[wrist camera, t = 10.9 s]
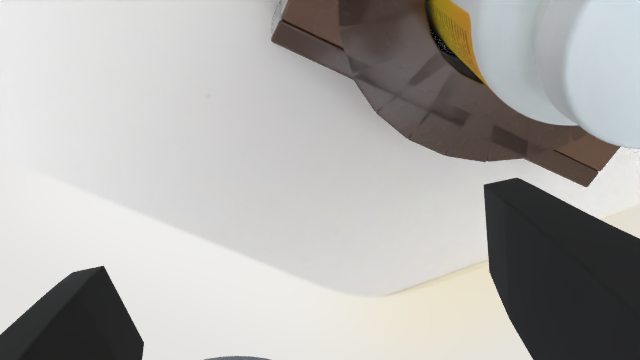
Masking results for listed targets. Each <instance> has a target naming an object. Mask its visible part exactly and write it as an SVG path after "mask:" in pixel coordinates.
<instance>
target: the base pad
mask: <svg viewBox="0 0 640 360" xmlns="http://www.w3.org/2000/svg"><path fill="white" fill-rule="evenodd" d="M271 41H272V42H273V43H275V44H277V45H279V46H282V47H284V48H286V49H288V50H290V51H292V52H295V53H297V54H299V55H301V56H303V57H305V58H308V59H310V60H312V61H314V62H316V63H318V64H321V65H323V66H325V67H327V68H329V69H331V70H333V71H336V72H338V73H340V74H342V75H344V76H346V77H349V78H351V79H353V80H354V81H355V82H356V84H357V85H358V87H359V88H360V90H361V91H362V93H363V94H364V96H365V97H366V99H367V100H368V102H369V103H370V105H371V106H372V108H373V109H374V111H375V112H376V113H377V114H378V115H379V116H381V117H382V118H383V119H384V120H385V121H386V122H388V123H389V124H390V125H391V126H392V127H394V128H395V129H396V130H397V131H398V132H400V133H401V134H402V135H403V136H404V137H406V138H408V139H409V140H411V141H413V142H415V143H417V144H420V145H422V146H424V147H427V148H429V149H431V150H433V151H436V152H438V153H440V154H442V155H446V156H450V157H456V158H463V159H469V160H476V161H482V162H486V161H499V160H510V159H521V158H524V159H526V160H528V161H530V162H532V163H534V164H537V165H539V166H541V167H543V168H545V169H547V170H549V171H552V172H554V173H556V174H558V175H560V176H562V177H565V178H567V179H569V180H571V181H573V182H575V183H578V184H580V185H582V186H584V187H587V186H589V184H590V183H591V182H592V181H593V179H594V178H595V177H596V176H597V174H598V171H601V170H602V169H603V167H604V166H605V165H606V164H607V163H608V161H609V160H610V159H611V158H612V156H613V155H614V154H615V153H616V151H617V150H618V149H619V148H620V146H617V145H613V144H610V143H607V142H605V141H603V140H600V139H598V138H596V137H595V136H593V135H591V134H590V133H588V132H587V131H585V130H584V129H583V128H581V127H580V126H579V125H573V126H570V125H555V124H548V123H544V122H540V121H537V120H534V119H531V118H529V117H527V116H525V115H523V114H521V113H519V112H517V111H516V110H514V109H513V108H511V107H510V106H508V105H507V104H506V103H504V102H503V101H502V100H501V99H500V98H499V97H498V96H497V95H496V94H495V93H494V92H493V91H492V90H491V89H490V88H489V87H488V86H486V85H485V84H484V83H483V82H482V81H481V80H480V79H479V78H478V77H477V76H476V75H475V74H474V73H473V72H472V70H471V69H470V68H468V67H467V66H466V65H465V64H464V63H463V62H462V61H461V60H460V59H459V58H458V57H453V56H451V55H449V54H447V53H445V52H443V51H441V50H440V49H439V47H438V45H437V44H436V42H435V40H434V38H433V37H432V34H431V30H430V26H429V22H428V17H427V13H426V0H281V2H280V3H279V5H278V7H277V10H276V12H275V14H274V16H273V22H272V34H271Z"/></svg>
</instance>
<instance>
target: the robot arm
mask: <svg viewBox="0 0 640 360" xmlns="http://www.w3.org/2000/svg"><path fill="white" fill-rule="evenodd" d="M484 197H485V212H486V227H487V241H488V256H489V271H490V274H491V277H492V279H493V281H494V284H495V286H496V289H497V291H498V293H499V296H500V298H501V300H502V303H503V305H504V307H505V309H506V312H507V314H508V316H509V319H510V320H511V322H512V324H513V325H514V327H515V329H516V331H517V333H518V334H519V336H520V338H521V339H522V341H523V343H524V344H525V346H526V348H527V349H528V351H529V353H530V355H531V357H532V358H533V360H640V239H639V238H637V237H635V236H633V235H631V234H628V233H626V232H624V231H622V230H620V229H618V228H616V227H613V226H612V225H609V224H607V223H605V222H603V221H601V220H599V219H597V218H595V217H593V216H591V215H589V214H587V213H585V212H583V211H581V210H580V209H578V208H576V207H574V206H572V205H570V204H568V203H566V202H564V201H562V200H560V199H558V198H556V197H555V196H553V195H551V194H549V193H547V192H545V191H543V190H541V189H539V188H537V187H535V186H533V185H531V184H529V183H527V182H525V181H523V180H521V179H519V178H513V179H509V180H504V181H499V182H495V183H490V184H485V185H484ZM143 346H144V342H143V340H142V338H141V336H140V334H139V333H138V331H137V329H136V327H135V325H134V323H133V321H132V319H131V317H130V315H129V314H128V311H127V310H126V308H125V306H124V304H123V302H122V300H121V298H120V296H119V294H118V293H117V290H116V289H115V287H114V285H113V283H112V281H111V279H110V277H109V275H108V273H107V271H106V269H105V268H104V266H101V267H96V268H91V269H86V270H81V271H77V272H73V273H71V274H70V275H69V276H67V277H66V278H65V279H63V280H62V281H61V282H59V283H58V284H57V285H56V286H55V287H54V288H52V289H51V290H50V291H49V292H48V293H46V294H45V295H44V296H43V297H42V298H41V299H40V300H38V301H37V302H36V303H35V304H34V305H33V306H32V307H31V308H29V310H27V311H26V312H25V313H24V314H23V315H22V316H21V317H20V318H18V319H17V320H16V321H15V322H14V323H13V324H12V325H11V326H10V327H8V328H7V329H6V330H5V331H4V332H3V333H2V334H1V335H0V360H142V355H143Z"/></svg>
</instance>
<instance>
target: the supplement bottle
mask: <svg viewBox="0 0 640 360" xmlns="http://www.w3.org/2000/svg"><path fill="white" fill-rule="evenodd" d="M426 13H427V17H428V22H429V26H430V29H431V30H432V32H433V33H434V34H435V35H436V36H437V37H438V38H439V39H440V40H441V41H442V42H443V43H444V44H445V45H446V46H447V47H448V48H449V49H450V50H451V51H452V52H453V53H454V54H455V55H456V56H457V57H458V58H459V59H460V60H461V61H462V62H463V63H464V64H465V65H466V66H467V67H468V68H470V69H471V70H472V72H473V73H474V74H475V75H476V76H477V77H478V78H479V79H480V80H481V81H482V82H483V83H484V84H485V85H486V86H488V87H489V88H490V89H491V90H492V91H493V92H494V93H495V94H496V95H497V96H498V97H499V98H500V99H501V100H502V101H503V102H504V103H506V104H507V105H508V106H510V107H511V108H513V109H514V110H516V111H517V112H519V113H521V114H523V115H525V116H527V117H529V118H531V119H534V120H537V121H540V122H544V123H548V124H555V125H570V126H573V125H579V126H580V127H581V128H583V129H584V130H585V131H587V132H588V133H590V134H591V135H593V136H595V137H596V138H598V139H600V140H603V141H605V142H607V143H610V144H613V145H617V146H621V147H626V148H637V149H640V0H426Z"/></svg>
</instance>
